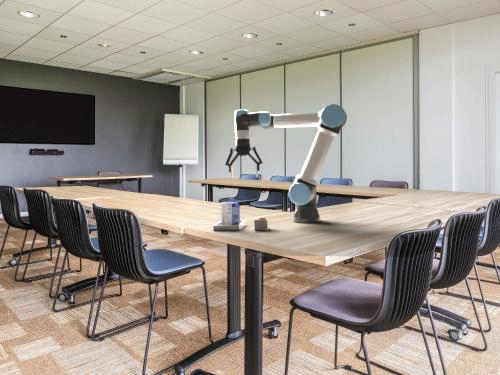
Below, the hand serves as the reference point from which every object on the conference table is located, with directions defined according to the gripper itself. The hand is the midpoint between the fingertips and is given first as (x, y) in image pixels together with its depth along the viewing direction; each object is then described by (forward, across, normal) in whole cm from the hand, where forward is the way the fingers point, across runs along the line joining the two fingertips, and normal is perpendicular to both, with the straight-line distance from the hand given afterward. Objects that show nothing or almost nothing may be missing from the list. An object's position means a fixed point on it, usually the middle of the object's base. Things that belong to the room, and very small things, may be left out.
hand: (244, 177), depth 222 cm
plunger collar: (+26, -10, +20) cm, 34 cm away
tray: (+25, +7, +14) cm, 30 cm away
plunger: (+25, -10, +20) cm, 33 cm away
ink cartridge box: (+24, +7, +14) cm, 29 cm away
